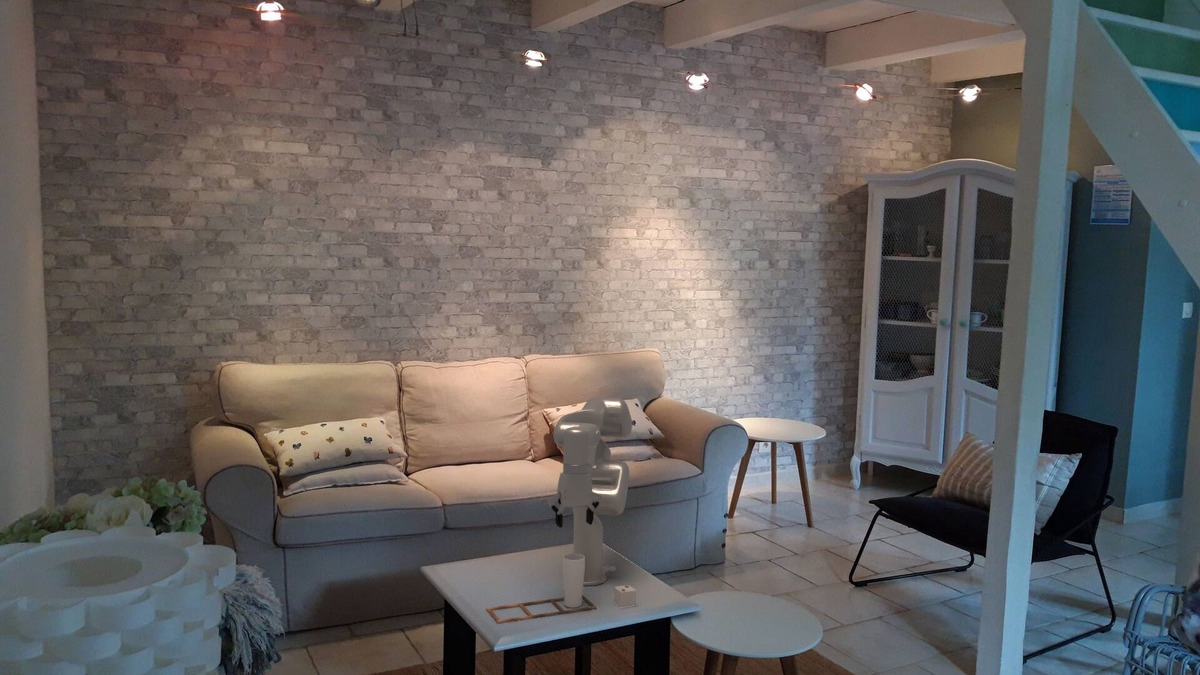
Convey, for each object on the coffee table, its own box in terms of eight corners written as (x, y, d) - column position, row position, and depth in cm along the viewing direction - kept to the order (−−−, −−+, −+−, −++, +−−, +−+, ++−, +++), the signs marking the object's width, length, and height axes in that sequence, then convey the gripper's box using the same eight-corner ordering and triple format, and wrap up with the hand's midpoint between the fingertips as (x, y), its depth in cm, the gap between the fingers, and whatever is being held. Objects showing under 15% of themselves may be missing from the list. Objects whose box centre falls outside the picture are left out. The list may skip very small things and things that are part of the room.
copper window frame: (582, 596, 282) (582, 594, 282) (596, 609, 272) (596, 607, 272) (486, 610, 269) (486, 608, 269) (497, 623, 259) (497, 621, 259)
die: (628, 600, 280) (628, 584, 279) (635, 606, 275) (636, 589, 275) (613, 602, 278) (614, 586, 277) (620, 608, 273) (621, 592, 273)
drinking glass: (561, 601, 278) (562, 553, 277) (583, 600, 278) (584, 553, 277) (562, 609, 271) (563, 560, 270) (584, 609, 272) (585, 560, 271)
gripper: (597, 464, 278) (595, 519, 279) (544, 468, 271) (542, 524, 272) (607, 469, 271) (605, 525, 273) (553, 473, 264) (552, 531, 266)
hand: (574, 525), depth 273 cm, fingers open, 9 cm apart
